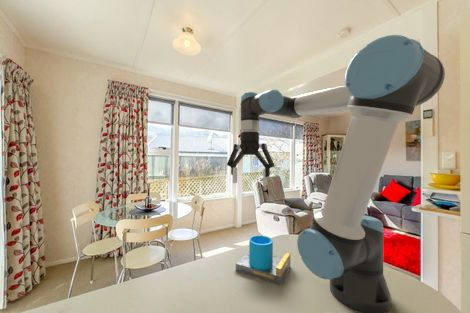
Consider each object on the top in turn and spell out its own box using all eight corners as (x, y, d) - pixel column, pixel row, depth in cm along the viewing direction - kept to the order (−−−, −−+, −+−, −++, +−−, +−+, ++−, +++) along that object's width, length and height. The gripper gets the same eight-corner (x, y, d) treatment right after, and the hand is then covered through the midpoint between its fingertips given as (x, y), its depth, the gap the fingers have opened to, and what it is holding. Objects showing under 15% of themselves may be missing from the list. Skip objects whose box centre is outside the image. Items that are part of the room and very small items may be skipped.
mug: (275, 269, 68) (275, 244, 68) (251, 270, 67) (251, 245, 67) (266, 252, 80) (266, 231, 80) (246, 253, 79) (246, 232, 79)
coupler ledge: (290, 266, 74) (290, 252, 74) (280, 285, 63) (280, 269, 63) (250, 255, 82) (250, 243, 82) (235, 270, 71) (235, 256, 71)
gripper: (282, 131, 80) (282, 185, 80) (228, 134, 93) (228, 181, 93) (276, 129, 74) (276, 187, 74) (219, 132, 86) (218, 182, 86)
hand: (249, 184), depth 83 cm, fingers open, 13 cm apart
